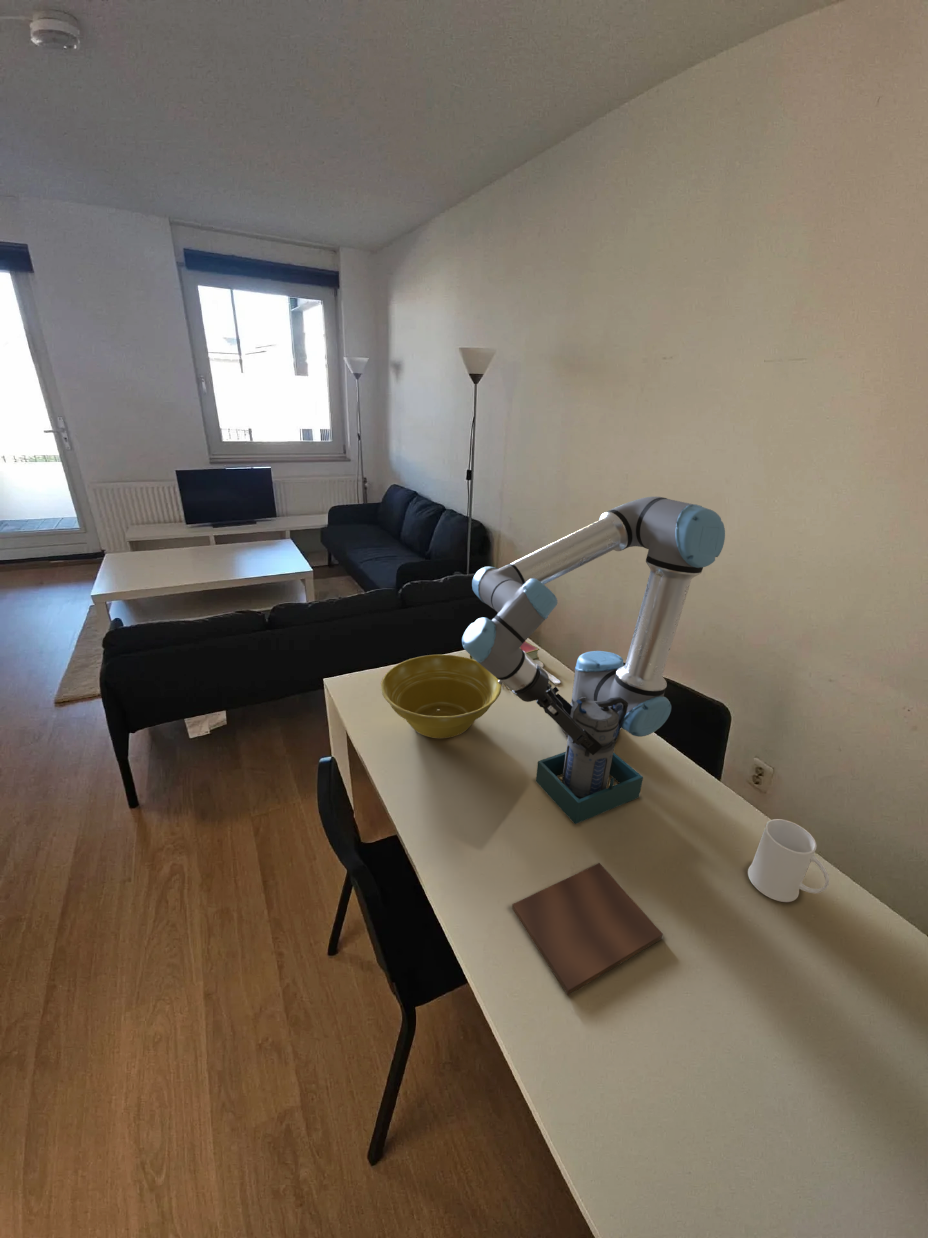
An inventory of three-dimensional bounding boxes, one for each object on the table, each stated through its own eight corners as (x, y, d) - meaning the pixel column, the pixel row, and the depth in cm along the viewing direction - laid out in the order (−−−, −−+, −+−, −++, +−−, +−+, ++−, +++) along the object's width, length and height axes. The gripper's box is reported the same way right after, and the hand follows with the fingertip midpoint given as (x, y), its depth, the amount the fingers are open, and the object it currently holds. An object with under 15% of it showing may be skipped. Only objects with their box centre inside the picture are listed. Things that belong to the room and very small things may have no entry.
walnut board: (598, 867, 99) (599, 862, 98) (662, 939, 86) (663, 934, 85) (511, 908, 90) (512, 904, 90) (567, 995, 77) (568, 990, 77)
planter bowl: (458, 779, 120) (459, 732, 115) (357, 733, 136) (354, 690, 130) (518, 715, 145) (521, 674, 140) (427, 682, 161) (427, 644, 155)
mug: (826, 904, 93) (848, 856, 88) (800, 925, 89) (821, 877, 84) (764, 857, 102) (780, 811, 97) (738, 874, 98) (754, 828, 93)
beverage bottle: (623, 799, 116) (641, 706, 106) (571, 810, 112) (585, 715, 102) (600, 770, 125) (615, 682, 115) (551, 779, 121) (562, 690, 111)
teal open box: (596, 759, 128) (600, 730, 125) (639, 797, 116) (645, 767, 113) (535, 781, 120) (538, 751, 117) (575, 824, 108) (579, 792, 105)
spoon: (551, 685, 161) (551, 684, 161) (522, 660, 176) (522, 659, 175) (565, 682, 163) (565, 681, 163) (535, 658, 178) (535, 656, 178)
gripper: (493, 660, 113) (550, 710, 123) (530, 725, 91) (595, 780, 100) (517, 637, 112) (573, 689, 122) (560, 697, 90) (624, 755, 99)
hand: (583, 730), depth 111 cm, fingers open, 13 cm apart
